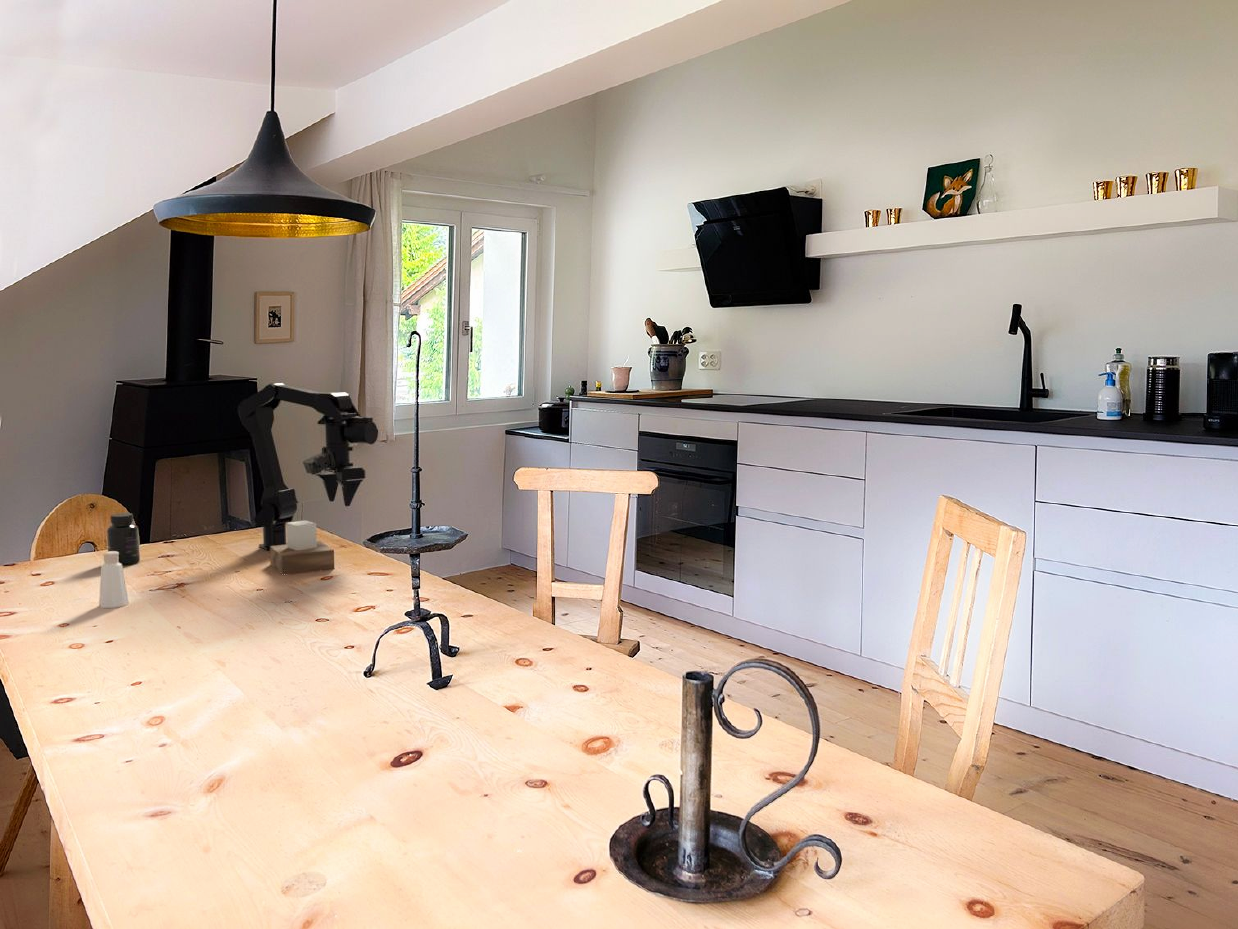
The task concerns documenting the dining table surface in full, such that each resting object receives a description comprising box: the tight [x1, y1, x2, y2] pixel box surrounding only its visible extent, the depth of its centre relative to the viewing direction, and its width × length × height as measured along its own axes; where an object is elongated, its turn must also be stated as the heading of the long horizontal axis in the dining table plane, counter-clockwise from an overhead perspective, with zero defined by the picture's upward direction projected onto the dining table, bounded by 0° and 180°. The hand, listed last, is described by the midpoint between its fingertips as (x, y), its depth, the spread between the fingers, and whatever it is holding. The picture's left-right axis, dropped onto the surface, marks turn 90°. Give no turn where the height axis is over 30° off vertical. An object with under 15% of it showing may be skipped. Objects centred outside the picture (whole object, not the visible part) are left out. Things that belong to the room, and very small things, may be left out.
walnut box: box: [269, 540, 335, 576], centre depth 228 cm, size 12×12×5 cm
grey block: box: [286, 519, 318, 551], centre depth 227 cm, size 5×5×6 cm
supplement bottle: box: [106, 512, 141, 567], centre depth 229 cm, size 7×7×12 cm
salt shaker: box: [98, 551, 130, 609], centre depth 194 cm, size 5×5×11 cm
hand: (339, 503), depth 240 cm, fingers open, 9 cm apart
